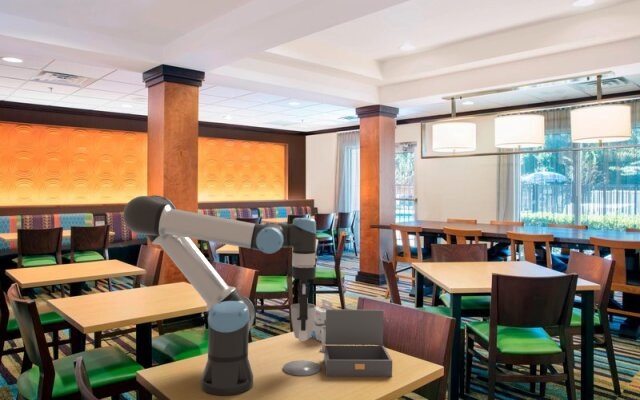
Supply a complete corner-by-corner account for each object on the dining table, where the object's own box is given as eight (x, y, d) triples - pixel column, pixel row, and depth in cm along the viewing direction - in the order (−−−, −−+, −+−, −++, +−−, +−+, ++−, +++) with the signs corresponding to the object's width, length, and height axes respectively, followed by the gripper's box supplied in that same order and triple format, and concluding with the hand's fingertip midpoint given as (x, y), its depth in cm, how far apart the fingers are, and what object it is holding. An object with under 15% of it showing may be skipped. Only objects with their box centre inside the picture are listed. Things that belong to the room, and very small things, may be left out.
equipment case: (323, 376, 146) (324, 321, 146) (320, 358, 162) (322, 309, 162) (392, 377, 147) (393, 322, 147) (383, 359, 163) (384, 309, 163)
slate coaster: (282, 375, 146) (282, 373, 146) (283, 362, 158) (283, 360, 158) (321, 375, 147) (321, 374, 147) (319, 362, 159) (319, 360, 159)
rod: (319, 351, 169) (319, 349, 169) (319, 351, 170) (319, 348, 170) (343, 351, 170) (343, 349, 170) (343, 351, 171) (343, 348, 171)
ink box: (310, 336, 187) (311, 299, 187) (321, 335, 190) (322, 298, 190) (321, 342, 180) (322, 304, 180) (332, 341, 182) (333, 303, 182)
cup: (317, 334, 156) (318, 304, 155) (312, 341, 148) (312, 309, 147) (294, 332, 157) (294, 302, 157) (287, 339, 149) (287, 308, 149)
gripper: (316, 271, 142) (315, 346, 142) (314, 261, 163) (313, 327, 163) (291, 270, 142) (290, 346, 142) (292, 261, 162) (291, 327, 162)
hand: (302, 336), depth 152 cm, fingers closed on cup, 8 cm apart
